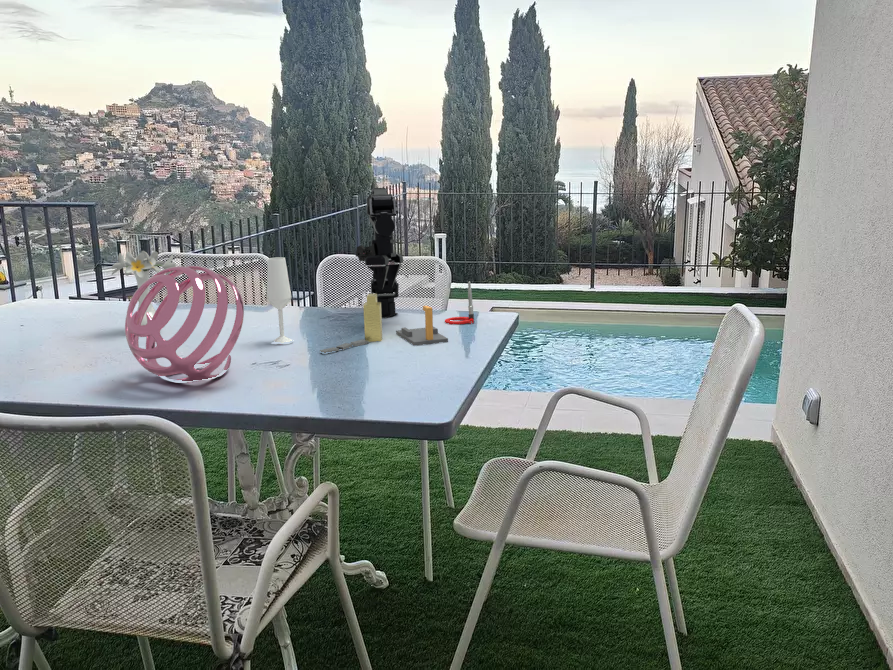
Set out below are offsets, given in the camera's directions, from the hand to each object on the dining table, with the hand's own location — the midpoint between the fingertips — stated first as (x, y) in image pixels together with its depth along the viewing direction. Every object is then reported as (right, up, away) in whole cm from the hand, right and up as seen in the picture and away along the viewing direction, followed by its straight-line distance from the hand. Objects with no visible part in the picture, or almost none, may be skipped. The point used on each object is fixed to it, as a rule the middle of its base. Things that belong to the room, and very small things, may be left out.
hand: (385, 288), depth 219 cm
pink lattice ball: (-43, -25, -48) cm, 69 cm away
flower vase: (-73, -14, +3) cm, 74 cm away
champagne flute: (-28, -17, -14) cm, 36 cm away
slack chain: (-10, -18, -22) cm, 30 cm away
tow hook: (+23, -10, +9) cm, 26 cm away
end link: (-2, -16, -13) cm, 20 cm away
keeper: (+11, -15, -12) cm, 22 cm away
